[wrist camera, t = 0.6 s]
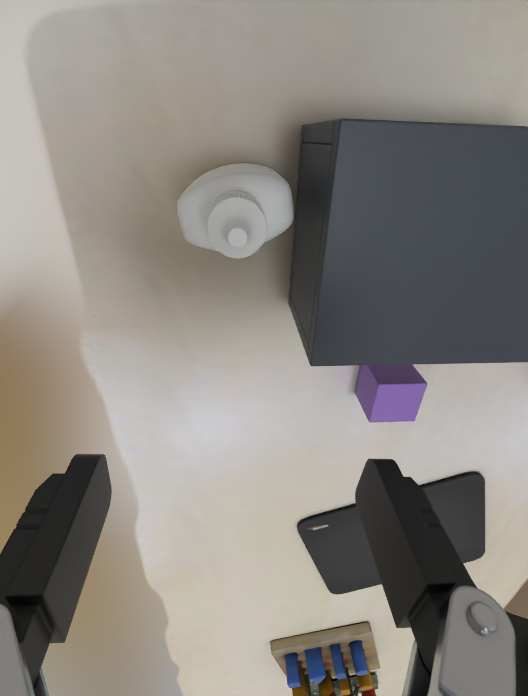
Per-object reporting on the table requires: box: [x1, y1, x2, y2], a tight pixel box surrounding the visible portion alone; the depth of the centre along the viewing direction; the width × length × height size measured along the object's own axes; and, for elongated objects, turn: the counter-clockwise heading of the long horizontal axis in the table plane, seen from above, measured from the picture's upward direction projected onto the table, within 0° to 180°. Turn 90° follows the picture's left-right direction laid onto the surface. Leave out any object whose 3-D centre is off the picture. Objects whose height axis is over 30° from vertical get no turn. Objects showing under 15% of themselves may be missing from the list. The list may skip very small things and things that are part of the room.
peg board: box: [271, 623, 380, 696], centre depth 60 cm, size 18×17×9 cm
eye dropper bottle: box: [177, 163, 294, 259], centre depth 18 cm, size 4×6×12 cm
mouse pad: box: [298, 473, 485, 594], centre depth 46 cm, size 23×20×1 cm
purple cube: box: [355, 364, 427, 422], centre depth 30 cm, size 4×4×4 cm
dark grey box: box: [289, 119, 528, 366], centre depth 21 cm, size 14×12×9 cm
